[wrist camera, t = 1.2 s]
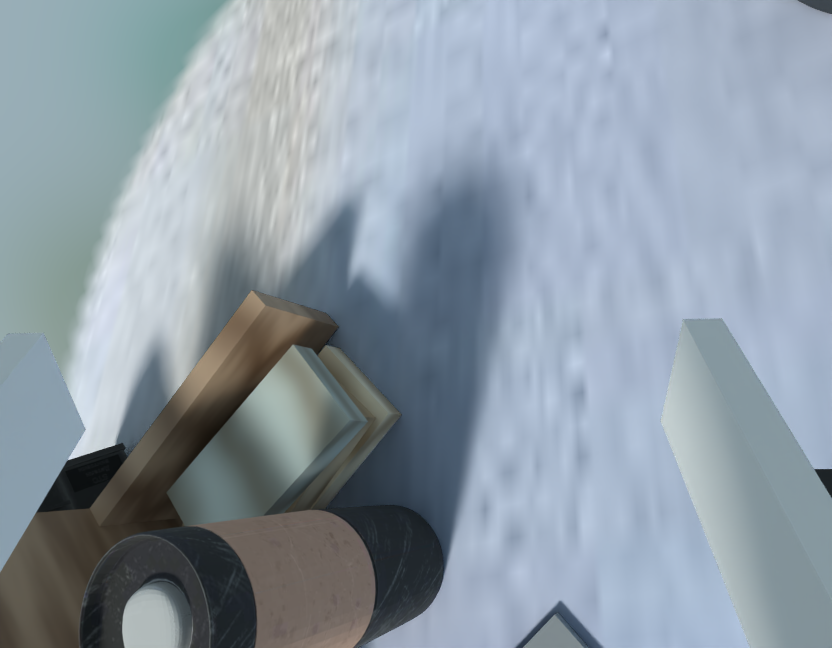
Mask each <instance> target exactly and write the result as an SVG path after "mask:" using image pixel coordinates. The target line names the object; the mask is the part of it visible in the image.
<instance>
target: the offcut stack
mask: <svg viewBox="0 0 832 648" xmlns="http://www.w3.org/2000/svg"><path fill="white" fill-rule="evenodd" d="M400 416H401V414H400V412H399V411H398V410H397V409H396V408H395V407H394V406H393V405H392V404H391V403H390V402H389V401H388V400H387V398H386V397H385V396H384V395H383V394H382V393H381V392H380V391H379V390H378V389H377V388H376V387H375V386H374V384H373V383H372V382H371V381H370V380H369V379H368V378H367V377H366V376H365V375H364V374H363V373H362V372H361V370H360V369H359V368H358V367H357V366H356V365H355V364H354V363H353V362H352V361H351V360H350V359H349V358H348V356H347V355H346V354H345V353H344V352H343V351H342V350H341V349H340V348H336V347H332V346H328V345H325V347H324V348H323V349H322V351H321V352H320V353H319V354H318V356H317V355H316V354H315V352H314V351H313V350H312V349H311V348H307V347H302V346H298V345H292V346H291V347H290V348H289V350H288V351H287V352H286V353H285V354H284V355H283V357H282V358H281V359H280V360H279V361H278V362H277V364H276V365H275V366H274V367H273V368H272V370H271V371H270V372H269V373H268V374H267V375H266V377H265V378H264V379H263V380H262V381H261V382H260V384H259V385H258V386H257V387H256V388H255V389H254V391H253V392H252V393H251V394H250V395H249V396H248V398H247V399H246V400H245V401H244V402H243V403H242V405H241V406H240V407H239V408H238V409H237V410H236V412H235V413H234V414H233V415H232V416H231V417H230V419H229V420H228V421H227V422H226V423H225V424H224V426H223V427H222V428H221V429H220V430H219V431H218V433H217V434H216V435H215V436H214V437H213V438H212V440H211V441H210V442H209V443H208V444H207V445H206V447H205V448H204V449H203V450H202V451H201V453H200V454H199V455H198V456H197V457H196V458H195V460H194V461H193V462H192V463H191V464H190V465H189V467H188V468H187V469H186V470H185V471H184V472H183V474H182V475H181V476H180V477H179V478H178V479H177V481H176V482H175V483H174V484H173V485H172V486H171V488H170V489H169V490H168V491H167V492H166V493H167V494H168V496H169V498H170V500H171V502H172V503H173V505H174V507H175V509H176V511H177V512H178V514H179V516H180V518H181V520H182V521H183V524H182V526H191V525H199V524H206V523H214V522H221V521H229V520H237V519H244V518H252V517H259V516H267V515H275V514H282V513H290V512H297V511H305V510H314V509H325V508H326V507H327V506H328V505H329V503H330V502H331V501H332V500H333V498H334V497H335V496H336V495H337V494H338V492H339V491H340V490H341V489H342V487H343V486H344V485H345V484H346V482H347V481H348V480H349V479H350V478H351V476H352V475H353V474H354V473H355V471H356V470H357V469H358V468H359V467H360V465H361V464H362V463H363V462H364V460H365V459H366V458H367V457H368V455H369V454H370V453H371V452H372V451H373V449H374V448H375V447H376V446H377V444H378V443H379V442H380V441H381V440H382V438H383V437H384V436H385V435H386V433H387V432H388V431H389V430H390V428H391V427H392V426H393V425H394V424H395V422H396V421H397V420H398V419H399V417H400Z"/></svg>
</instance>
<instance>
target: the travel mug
mask: <svg viewBox="0 0 832 648" xmlns="http://www.w3.org/2000/svg"><path fill="white" fill-rule="evenodd" d="M442 577H443V556H442V551H441V547H440V544H439V541H438V539H437V537H436V535H435V533H434V531H433V529H432V528H431V527H430V525H429V524H428V523H427V522H426V521H425V520H424V519H423V518H422V517H421V516H420V515H418V514H417V513H415V512H414V511H412V510H410V509H408V508H405V507H401V506H395V505H381V506H363V507H347V508H331V509H314V510H305V511H297V512H290V513H282V514H275V515H267V516H259V517H252V518H244V519H237V520H229V521H221V522H214V523H206V524H199V525H191V526H183V527H176V528H168V529H160V530H153V531H146V532H141V533H137V534H134V535H131V536H128V537H126V538H124V539H123V540H121V541H119V542H118V543H116V544H115V545H114V546H113V547H111V548H110V549H109V550H108V551H107V552H106V554H105V555H104V556H103V557H102V558H101V560H100V561H99V563H98V564H97V566H96V568H95V569H94V571H93V573H92V575H91V577H90V579H89V582H88V584H87V587H86V590H85V593H84V597H83V601H82V605H81V612H80V619H79V648H358V647H360V646H362V645H364V644H366V643H368V642H370V641H372V640H374V639H376V638H378V637H379V636H381V635H383V634H385V633H387V632H389V631H391V630H393V629H395V628H397V627H399V626H401V625H403V624H404V623H406V622H408V621H410V620H412V619H413V618H415V617H417V616H418V615H420V614H421V613H423V612H424V611H425V610H426V609H427V608H428V607H429V606H430V605H431V603H432V602H433V600H434V599H435V597H436V595H437V593H438V591H439V588H440V585H441V582H442Z"/></svg>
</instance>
